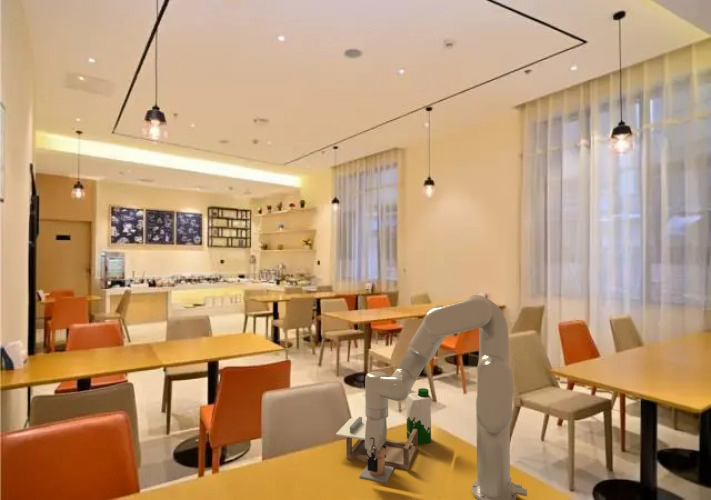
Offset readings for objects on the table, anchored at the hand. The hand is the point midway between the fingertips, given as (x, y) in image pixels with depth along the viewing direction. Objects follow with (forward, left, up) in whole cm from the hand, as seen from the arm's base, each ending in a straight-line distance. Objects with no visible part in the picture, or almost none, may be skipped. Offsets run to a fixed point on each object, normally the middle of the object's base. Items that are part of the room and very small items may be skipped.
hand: (377, 463), depth 131 cm
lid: (+12, -13, +4) cm, 18 cm away
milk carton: (-8, -28, -4) cm, 30 cm away
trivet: (0, 0, -4) cm, 4 cm away
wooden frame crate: (+2, -13, -4) cm, 14 cm away
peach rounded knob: (0, 0, -2) cm, 3 cm away
